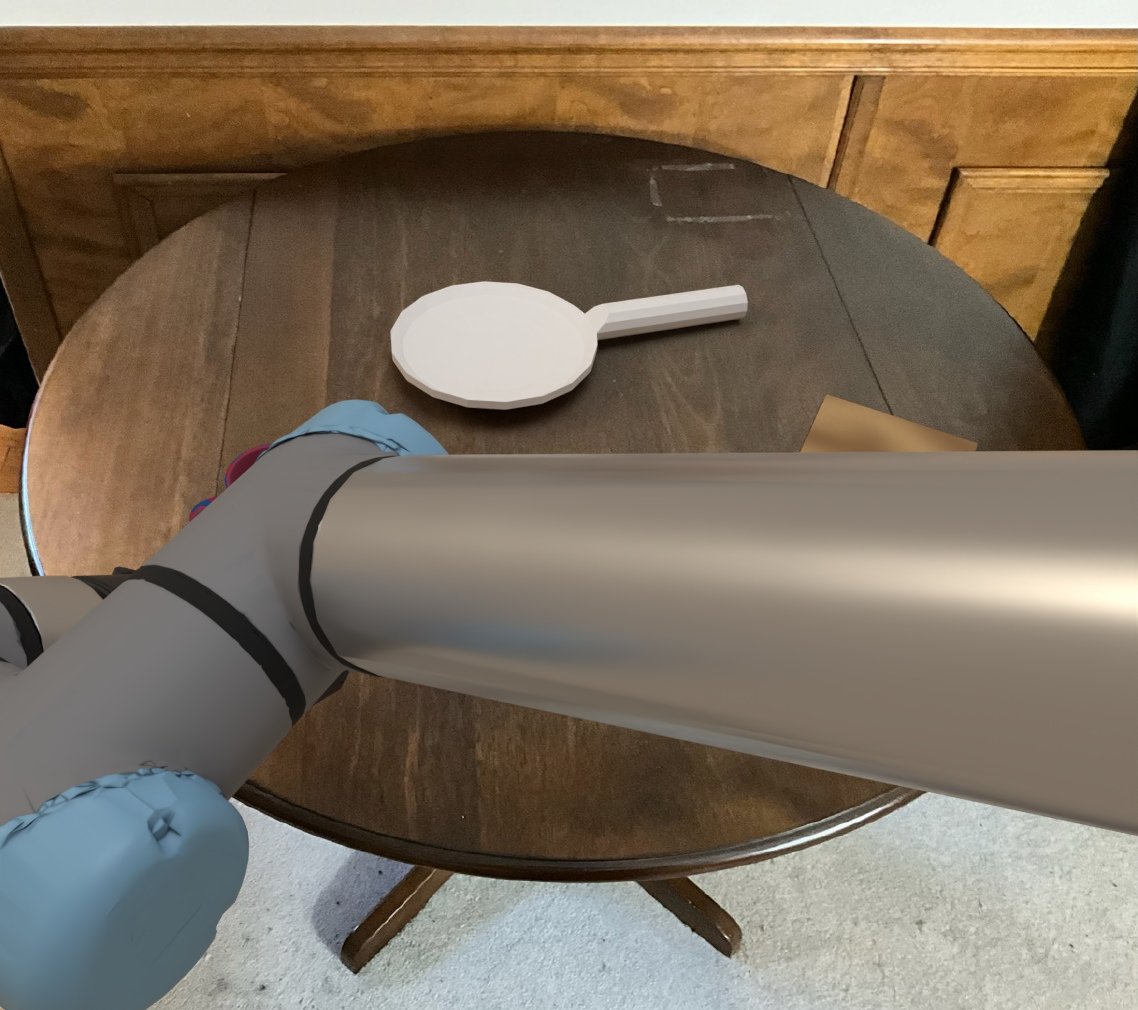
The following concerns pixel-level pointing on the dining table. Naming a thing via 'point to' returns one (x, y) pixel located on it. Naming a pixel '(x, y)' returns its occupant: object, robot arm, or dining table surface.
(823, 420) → the wooden cutting board
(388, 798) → the dining table surface
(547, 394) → the frying pan
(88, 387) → the dining table surface
